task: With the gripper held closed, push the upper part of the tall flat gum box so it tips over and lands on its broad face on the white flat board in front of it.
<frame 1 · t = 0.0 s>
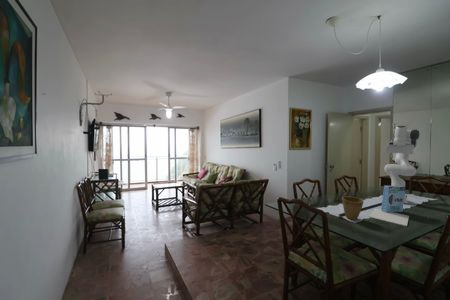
hand: (398, 158, 197), 48 cm above the table, tool pointing down, fingers open, 8 cm apart
white flat board: (389, 216, 179), on the table
gum box: (391, 211, 191), on the table, touching white flat board
plant pot: (351, 218, 173), on the table
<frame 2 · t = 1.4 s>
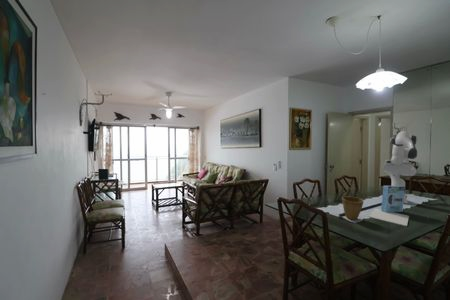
hand: (395, 176, 195), 31 cm above the table, tool pointing down, fingers closed
gum box: (391, 211, 191), on the table, touching white flat board
everything else where it was.
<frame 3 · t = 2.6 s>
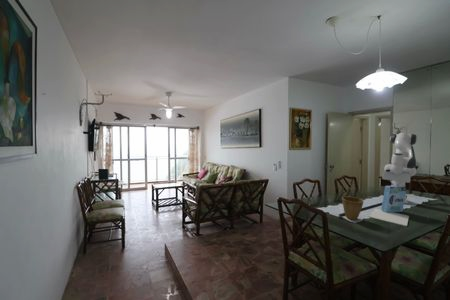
hand: (395, 185, 194), 23 cm above the table, tool pointing down, fingers closed
gum box: (391, 211, 191), on the table, touching white flat board, gripper
everything else where it was.
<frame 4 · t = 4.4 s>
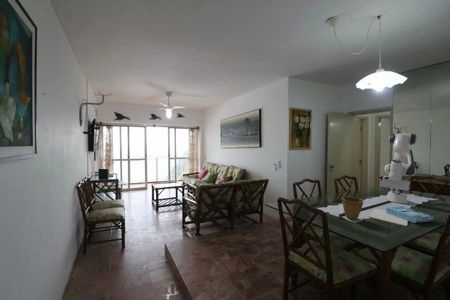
hand: (393, 193, 192), 16 cm above the table, tool pointing down, fingers closed
gum box: (394, 209, 189), point 3 cm above the table, touching white flat board
everything else where it was.
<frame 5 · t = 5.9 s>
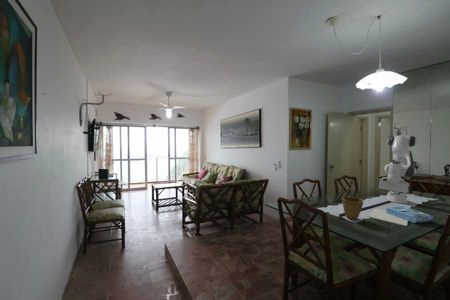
hand: (392, 195, 185), 16 cm above the table, tool pointing down, fingers closed
nothing on the table moved.
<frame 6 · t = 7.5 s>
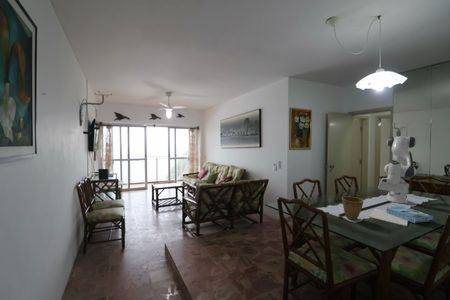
hand: (392, 196, 183), 16 cm above the table, tool pointing down, fingers closed
nothing on the table moved.
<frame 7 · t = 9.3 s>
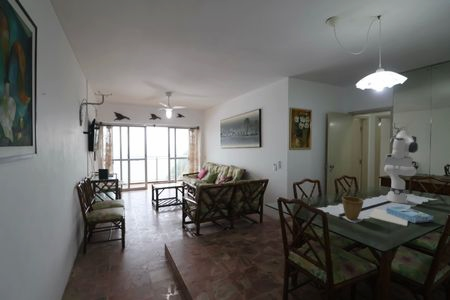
hand: (396, 170, 195), 37 cm above the table, tool pointing down, fingers closed
nothing on the table moved.
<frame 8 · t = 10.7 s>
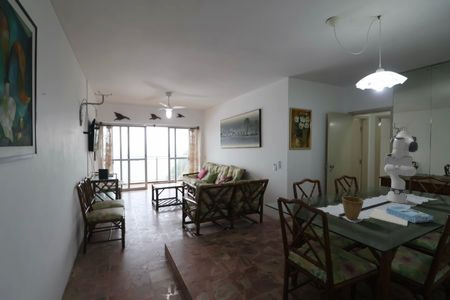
hand: (396, 170, 195), 37 cm above the table, tool pointing down, fingers closed
nothing on the table moved.
at the end: gum box tilted 91°; gum box touching white flat board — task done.
